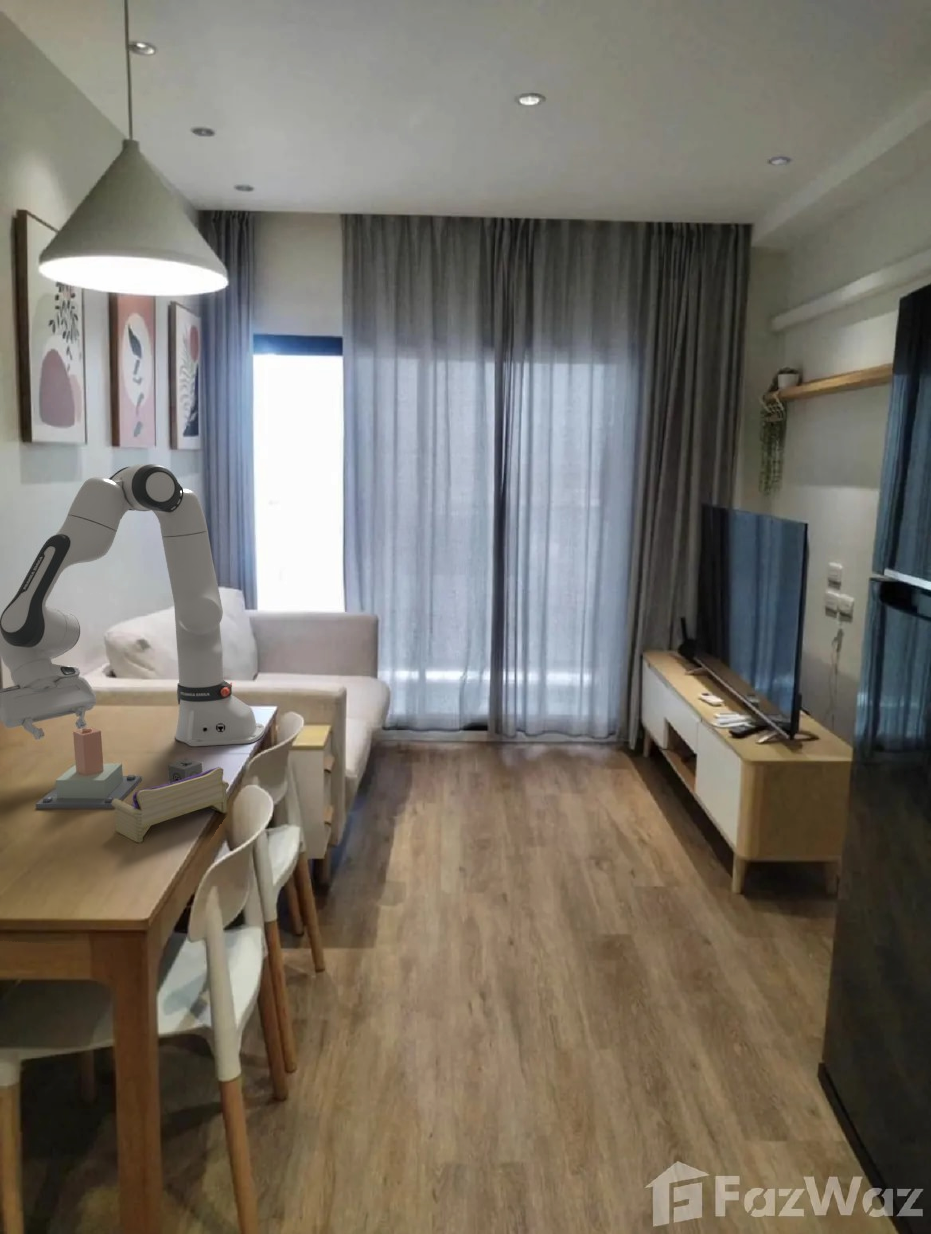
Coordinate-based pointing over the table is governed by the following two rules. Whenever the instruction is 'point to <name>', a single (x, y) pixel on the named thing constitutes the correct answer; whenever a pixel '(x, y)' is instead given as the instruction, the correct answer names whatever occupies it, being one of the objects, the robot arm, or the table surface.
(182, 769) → the dice cube
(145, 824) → the toy sofa
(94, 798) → the tower base
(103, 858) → the table surface
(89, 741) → the pillar brick
